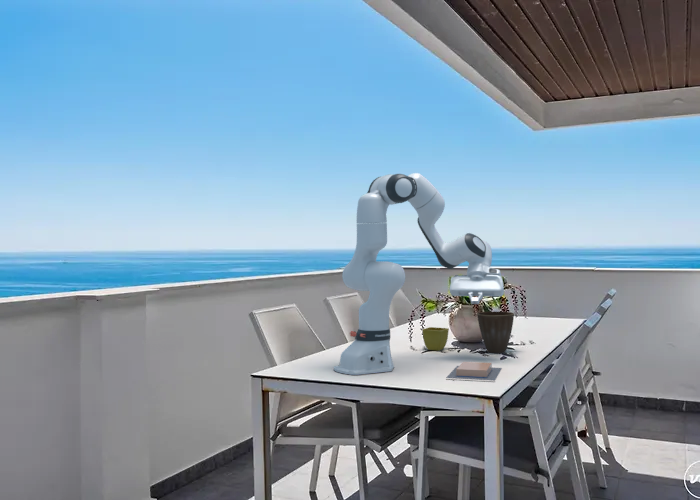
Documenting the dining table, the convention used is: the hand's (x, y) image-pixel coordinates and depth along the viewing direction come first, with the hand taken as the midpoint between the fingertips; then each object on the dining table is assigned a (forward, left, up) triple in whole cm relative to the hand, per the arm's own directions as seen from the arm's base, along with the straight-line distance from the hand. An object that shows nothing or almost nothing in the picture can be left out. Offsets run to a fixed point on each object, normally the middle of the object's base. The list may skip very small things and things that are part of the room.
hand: (474, 302), depth 242 cm
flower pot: (+12, +34, -23) cm, 42 cm away
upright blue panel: (-9, -10, -21) cm, 25 cm away
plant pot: (+27, +14, -23) cm, 38 cm away
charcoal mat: (-14, -13, -23) cm, 30 cm away
